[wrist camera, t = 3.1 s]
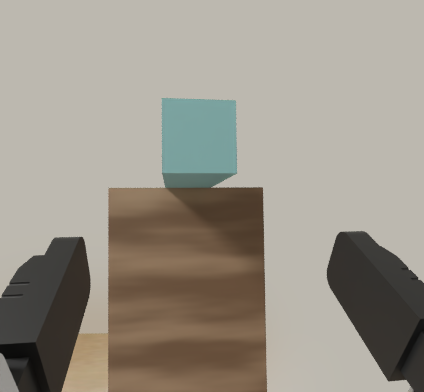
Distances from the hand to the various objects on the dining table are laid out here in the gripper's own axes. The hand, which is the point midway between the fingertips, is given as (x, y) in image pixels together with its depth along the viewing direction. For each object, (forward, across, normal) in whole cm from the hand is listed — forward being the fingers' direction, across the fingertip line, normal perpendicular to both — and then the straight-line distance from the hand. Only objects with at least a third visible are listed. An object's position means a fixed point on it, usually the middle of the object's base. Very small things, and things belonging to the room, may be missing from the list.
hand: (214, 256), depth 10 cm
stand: (+5, 0, +36) cm, 37 cm away
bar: (+17, 0, +6) cm, 18 cm away
